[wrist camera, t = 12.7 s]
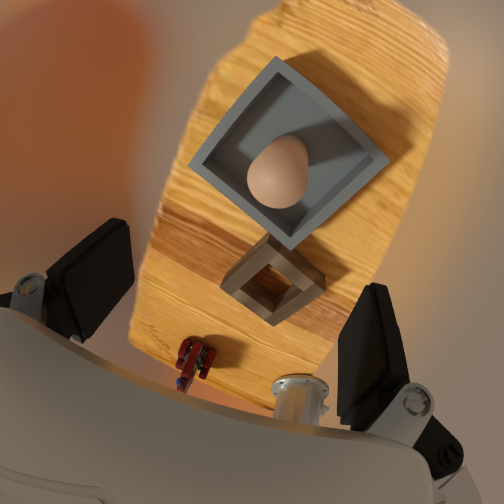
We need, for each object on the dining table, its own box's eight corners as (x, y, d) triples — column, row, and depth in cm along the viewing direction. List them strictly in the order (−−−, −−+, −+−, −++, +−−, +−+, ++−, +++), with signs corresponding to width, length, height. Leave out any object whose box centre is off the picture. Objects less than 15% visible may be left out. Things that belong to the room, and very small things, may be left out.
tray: (381, 153, 26) (390, 161, 23) (293, 234, 34) (290, 250, 31) (280, 61, 23) (275, 55, 20) (201, 157, 31) (187, 165, 28)
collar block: (324, 275, 37) (325, 292, 34) (276, 310, 42) (273, 326, 39) (271, 229, 35) (266, 242, 32) (226, 272, 40) (219, 287, 37)
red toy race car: (220, 342, 50) (203, 387, 41) (208, 371, 57) (194, 409, 48) (186, 329, 50) (165, 371, 41) (180, 359, 57) (163, 396, 48)
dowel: (312, 138, 27) (313, 158, 18) (304, 175, 29) (300, 214, 20) (272, 130, 27) (251, 145, 18) (265, 167, 30) (243, 201, 20)
